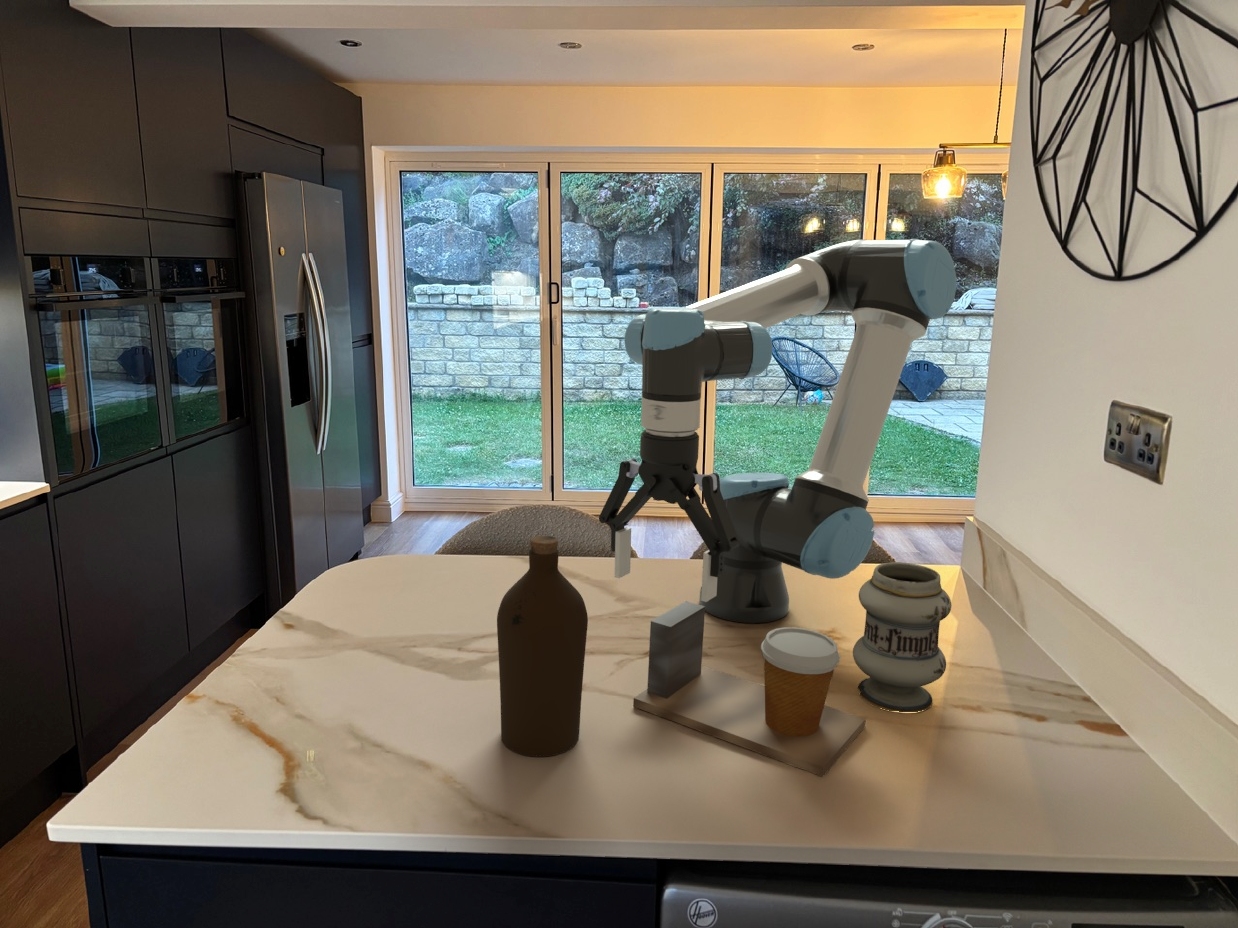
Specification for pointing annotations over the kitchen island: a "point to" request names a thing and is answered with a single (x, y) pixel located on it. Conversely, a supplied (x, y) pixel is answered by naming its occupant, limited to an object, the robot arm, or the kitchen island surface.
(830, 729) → the walnut board
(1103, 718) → the kitchen island surface
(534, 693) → the olive oil
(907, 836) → the kitchen island surface
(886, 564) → the apothecary jar
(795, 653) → the disposable coffee cup
